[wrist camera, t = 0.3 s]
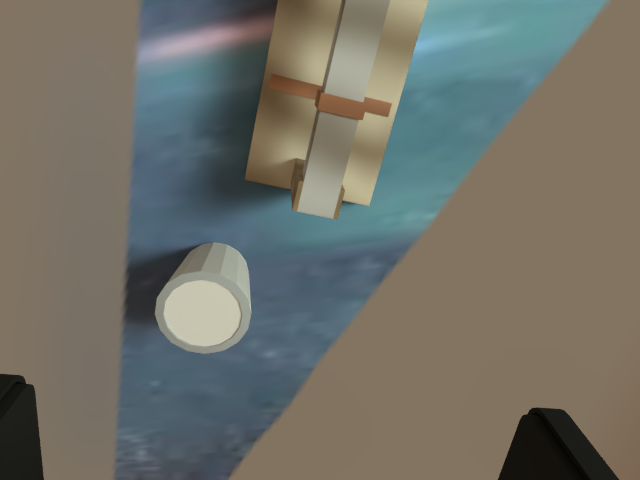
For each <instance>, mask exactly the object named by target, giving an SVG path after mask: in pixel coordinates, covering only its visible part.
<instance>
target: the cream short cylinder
mask: <svg viewBox="0 0 640 480" xmlns="http://www.w3.org/2000/svg"><path fill="white" fill-rule="evenodd" d="M155 316H156V319H157V322H158V325H159V328H160V330H161V331H162V332H163V334H164V335H165V336H166V337H167V338H168V339H169V340H170V341H171V342H172V343H173V344H175V345H177V346H179V347H181V348H183V349H185V350H187V351H191V352H197V353H204V354H207V353H213V352H219V351H224V350H225V349H227V348H229V347H231V346H232V345H234V344H236V343H237V342H239V340H240V339H241V338H242V336H243V335H244V334H245V332H246V331H247V330H248V327H249V322H250V317H251V301H250V285H249V272H248V268H247V264H246V261H245V259H244V258H243V257H242V255H241V254H240V253H239V251H237V250H235V249H234V248H232V247H230V246H229V245H226V244H221V243H216V242H213V243H207V244H201V245H200V246H198V247H196V248H195V249H193V250H192V251H190V252H189V254H188V255H187V257H186V258H185V259H184V261H183V262H182V263H181V265H180V266H179V267H178V269H177V270H176V272H175V273H174V274H173V276H172V277H171V278H170V280H169V281H168V282H167V284H166V285H165V287H164V288H163V290H162V291H161V293H160V294H159V296H158V297H157V301H156V309H155Z"/></svg>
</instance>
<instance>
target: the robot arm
mask: <svg viewBox="0 0 640 480" xmlns="http://www.w3.org/2000/svg"><path fill="white" fill-rule="evenodd" d="M40 448H41V447H40V437H39V427H38V417H37V407H36V398H35V389H34V386H33V385H31V384H26V382H25V379H24V377H23V376H20V375H8V374H0V480H44V478H43V467H42V457H41V449H40ZM498 480H619V479H618V478H617V476H616V475H615V474H614V473H613V471H612V470H611V469H610V467H609V466H608V465H607V464H606V462H605V461H604V460H603V458H602V457H601V456H600V455H599V453H598V452H597V451H596V449H595V448H594V447H593V446H592V444H591V443H590V442H589V440H588V439H587V438H586V437H585V435H584V434H583V433H582V432H581V430H580V429H579V428H578V426H577V425H576V424H575V422H574V421H573V420H572V419H571V417H570V416H569V415H568V414H567V413H566V412H565V411H564V410H561V409H550V408H532V409H531V410H529V412H528V414H527V415H523V416H522V418H521V419H520V421H519V424H518V427H517V430H516V432H515V435H514V438H513V440H512V443H511V446H510V449H509V451H508V454H507V457H506V459H505V462H504V465H503V468H502V470H501V473H500V476H499V478H498Z"/></svg>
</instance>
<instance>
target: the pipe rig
mask: <svg viewBox="0 0 640 480" xmlns="http://www.w3.org/2000/svg"><path fill="white" fill-rule="evenodd" d="M427 3H428V0H278V3H277V8H276V14H275V19H274V24H273V30H272V35H271V40H270V46H269V51H268V56H267V62H266V67H265V72H264V78H263V83H262V89H261V94H260V99H259V105H258V110H257V115H256V121H255V126H254V131H253V137H252V142H251V148H250V153H249V158H248V164H247V169H246V174H245V180H248V181H253V182H258V183H262V184H267V185H272V186H277V187H281V188H286V189H291V196H292V210H293V211H298V212H303V213H308V214H313V215H318V216H322V217H327V218H332V219H338V215H339V212H340V208H341V204H342V200H343V201H348V202H353V203H358V204H362V205H367V206H369V205H370V201H371V198H372V194H373V191H374V187H375V184H376V180H377V177H378V173H379V170H380V167H381V163H382V160H383V156H384V153H385V149H386V146H387V142H388V139H389V135H390V132H391V128H392V125H393V121H394V118H395V114H396V111H397V107H398V104H399V101H400V97H401V94H402V90H403V87H404V83H405V80H406V76H407V73H408V69H409V66H410V62H411V59H412V55H413V52H414V48H415V45H416V41H417V38H418V34H419V31H420V28H421V24H422V21H423V17H424V14H425V10H426V7H427Z"/></svg>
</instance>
